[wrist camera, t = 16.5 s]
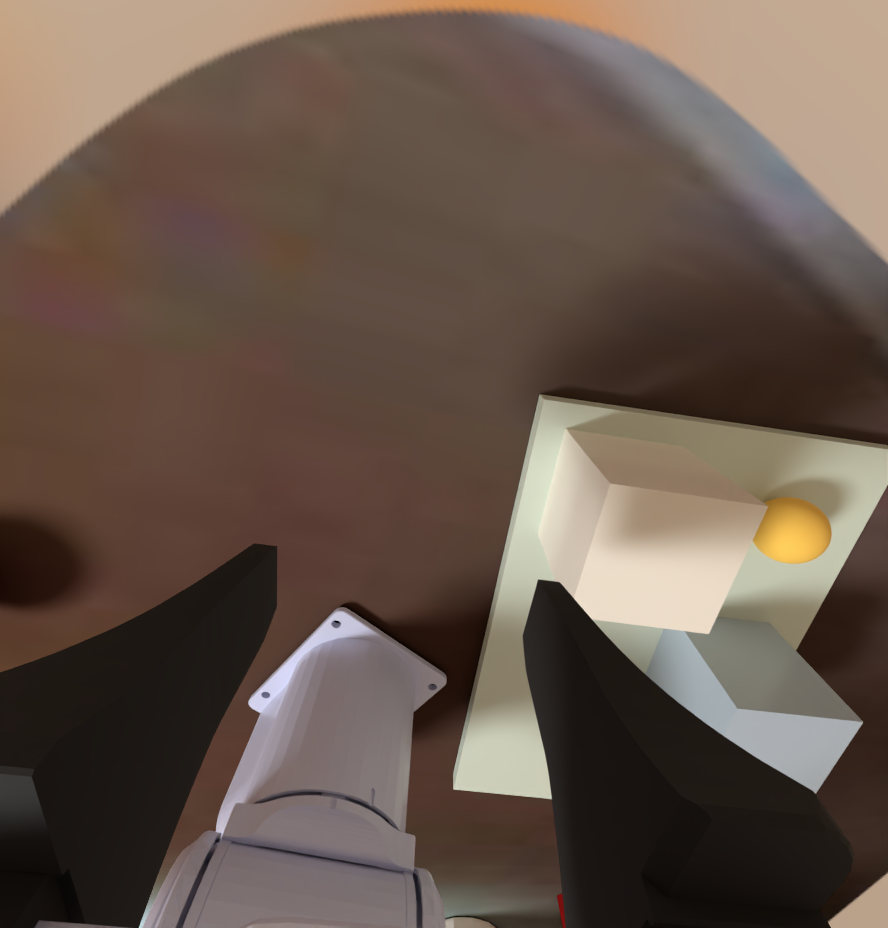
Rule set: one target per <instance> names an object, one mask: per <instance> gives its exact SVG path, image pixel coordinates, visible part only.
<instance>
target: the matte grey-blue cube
mask: <svg viewBox="0 0 888 928" xmlns="http://www.w3.org/2000/svg"><path fill="white" fill-rule="evenodd" d="M646 675H647V676H648V677H649V678H650V679H651V680H652V681H654V682H655V683H656V684H657V685H658V686H659V687H660V688H662V689H663V690H664V691H665V692H666V693H667V694H669V695H670V696H671V697H672V698H674V699H675V700H676V701H677V702H678V703H680V704H681V705H682V706H684V707H685V708H686V709H688V710H689V711H690V712H691V713H693V714H694V715H695V716H697V717H698V718H699V719H701V720H702V721H703V722H705V723H706V724H707V725H709V726H710V727H712V728H713V729H714V730H716V731H717V732H719V733H720V734H722V735H723V736H724V737H726V738H727V739H729V740H730V741H732V742H733V743H735V744H736V745H738V746H740V747H741V748H743V749H744V750H746V751H747V752H749V753H750V754H752V755H753V756H755V757H756V758H758V759H760V760H761V761H763V762H764V763H766V764H768V765H770V766H771V767H773V768H775V769H776V770H778V771H780V772H782V773H783V774H785V775H787V776H788V777H790V778H792V779H793V780H795V781H797V782H799V783H800V784H802V785H804V786H805V787H807V788H809V789H810V790H812V791H814V793H815V794H816V792H817V791H818V789H819V788H820V786H821V785H822V783H823V782H824V780H825V779H826V777H827V776H828V774H829V773H830V771H831V770H832V768H833V767H834V765H835V764H836V762H837V761H838V759H839V758H840V756H841V755H842V753H843V752H844V750H845V749H846V747H847V746H848V744H849V743H850V741H851V740H852V738H853V737H854V735H855V734H856V732H857V731H858V729H859V728H860V726H861V725H862V723H863V721H862V720H861V719H860V718H859V717H858V716H857V715H856V714H855V713H854V712H853V711H852V710H851V709H850V707H849V706H848V705H847V704H846V703H845V702H844V701H843V700H842V699H841V698H840V697H839V696H838V695H837V694H836V693H835V692H834V691H833V690H832V688H831V687H830V686H829V685H828V684H827V683H826V682H825V681H824V680H823V679H822V678H821V677H820V676H819V675H818V674H817V673H816V672H815V671H814V669H813V668H812V667H811V666H810V665H809V664H808V663H807V662H806V661H805V660H804V659H803V658H802V657H801V656H800V655H799V654H798V653H797V652H796V650H795V649H794V648H793V647H792V646H791V645H790V644H789V643H788V642H787V641H786V640H785V639H784V638H783V637H782V636H781V635H780V634H779V633H778V631H777V630H776V629H775V628H774V627H773V626H772V625H771V624H770V623H767V622H758V621H750V620H741V619H733V618H724V617H717V618H716V620H715V622H714V624H713V626H712V629H711V631H710V633H709V634H703V633H696V632H688V631H680V630H672V629H663V632H662V634H661V637H660V639H659V642H658V644H657V647H656V649H655V652H654V654H653V657H652V659H651V662H650V664H649V667H648V669H647V672H646Z"/></svg>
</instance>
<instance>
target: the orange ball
mask: <svg viewBox="0 0 888 928" xmlns="http://www.w3.org/2000/svg"><path fill="white" fill-rule="evenodd" d="M764 504H766V505H767V506H768V508H767V510H766V513H765V515H764V517H763V519H762V521H761V523H760V526H759V528H758V530H757V532H756V534H755V536H754V538H753V543H754V544H755V546H756V547H757V548H758V549H759V550H760V551H761V552H762V553H763V554H765V555H766V556H768V557H769V558H771V559H773V560H776V561H779V562H782V563H788V564H800V563H805V562H809V561H812V560H814V559H816V558H817V557H819V556H820V555H821V554H823V553H824V552H825V550H826V549H827V548H828V546H829V544H830V541H831V537H832V531H831V525H830V523H829V520H828V518H827V517H826V515H825V514H824V513H823V512H822V511H821V510H820V509H819V508H818V507H816V506H815V505H813V504H812V503H810V502H808V501H805V500H802V499H799V498H792V497H781V498H776V499H772V500H769V501H767V502H765V503H764Z"/></svg>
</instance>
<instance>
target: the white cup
mask: <svg viewBox="0 0 888 928" xmlns="http://www.w3.org/2000/svg"><path fill="white" fill-rule="evenodd" d="M445 924H446V928H496V927H494V926H493V925H492V924H490V923H489V922H486V921H483V920H480V919H476V918H472V917H453V918H449V919H445Z"/></svg>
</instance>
